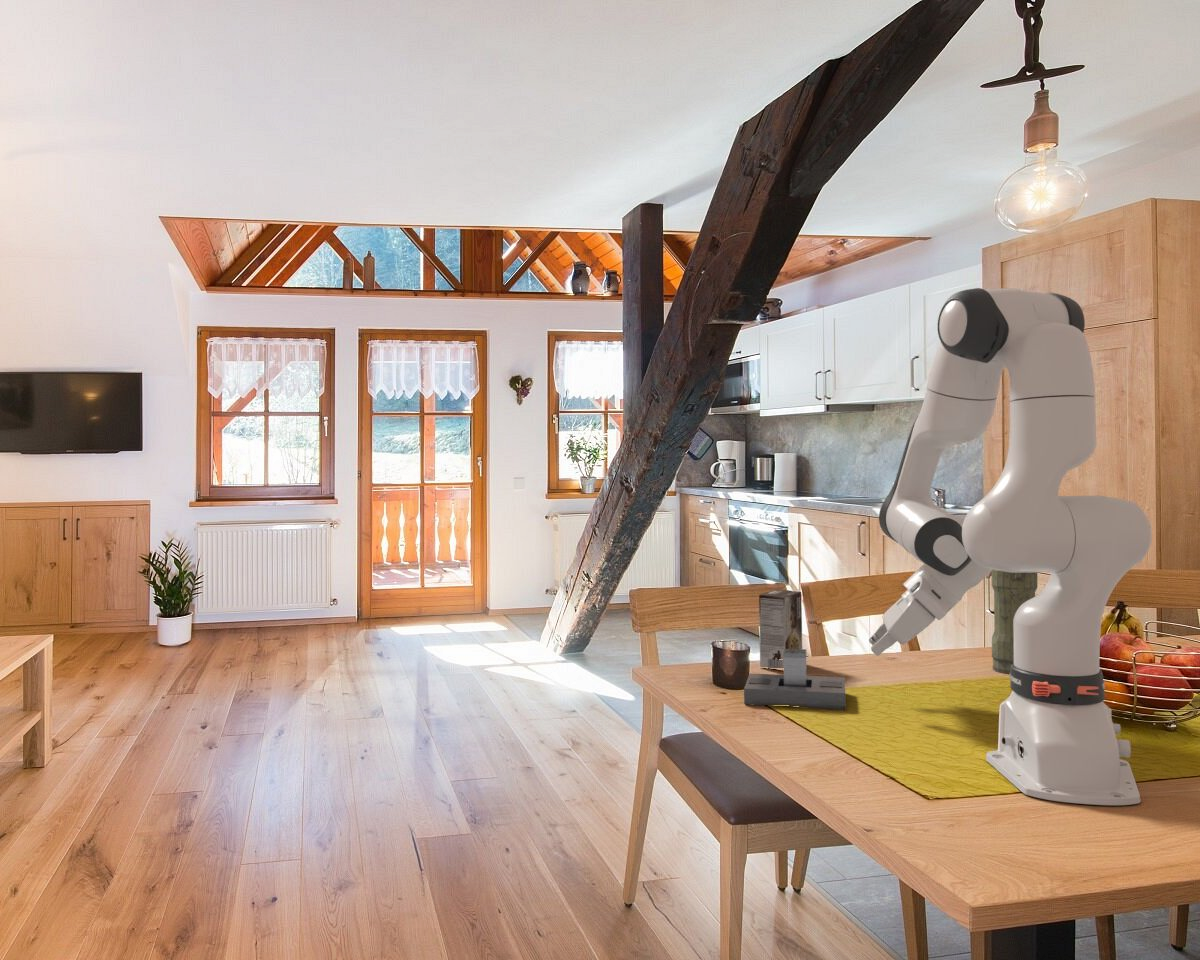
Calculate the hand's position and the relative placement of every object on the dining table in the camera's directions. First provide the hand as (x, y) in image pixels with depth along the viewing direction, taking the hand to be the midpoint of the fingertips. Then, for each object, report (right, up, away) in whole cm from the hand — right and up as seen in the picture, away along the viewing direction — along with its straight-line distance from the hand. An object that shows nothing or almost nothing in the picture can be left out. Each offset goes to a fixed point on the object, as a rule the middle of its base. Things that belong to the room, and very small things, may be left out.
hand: (872, 648), depth 163 cm
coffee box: (-10, -10, +31) cm, 34 cm away
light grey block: (-13, -10, +4) cm, 17 cm away
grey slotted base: (-13, -10, +4) cm, 17 cm away
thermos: (+37, -9, +24) cm, 45 cm away
